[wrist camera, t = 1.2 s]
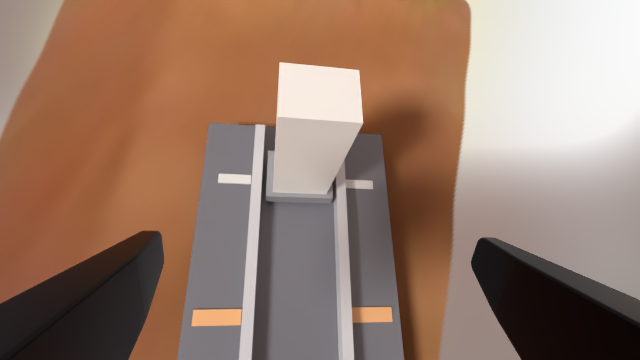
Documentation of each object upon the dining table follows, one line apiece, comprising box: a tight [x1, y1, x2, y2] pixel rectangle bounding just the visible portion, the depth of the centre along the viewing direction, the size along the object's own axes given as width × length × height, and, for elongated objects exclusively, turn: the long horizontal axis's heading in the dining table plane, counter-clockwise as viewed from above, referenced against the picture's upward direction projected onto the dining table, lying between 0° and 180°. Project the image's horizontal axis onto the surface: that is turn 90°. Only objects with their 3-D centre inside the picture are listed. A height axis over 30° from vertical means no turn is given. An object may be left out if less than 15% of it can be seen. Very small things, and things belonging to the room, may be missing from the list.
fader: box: [266, 62, 363, 204], centre depth 16 cm, size 3×4×9 cm
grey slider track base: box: [177, 123, 404, 360], centre depth 20 cm, size 16×12×3 cm
